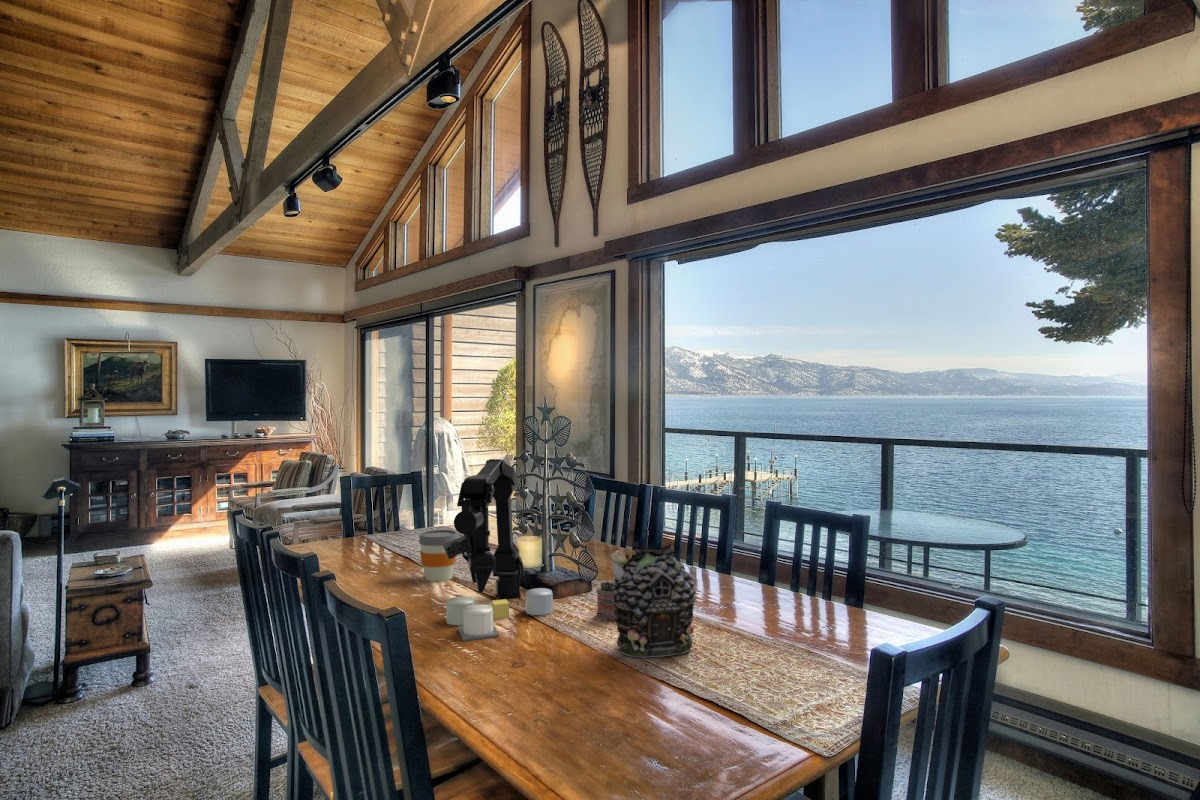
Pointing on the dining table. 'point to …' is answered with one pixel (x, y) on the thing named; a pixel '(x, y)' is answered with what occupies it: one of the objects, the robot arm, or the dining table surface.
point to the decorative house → (652, 603)
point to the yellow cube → (500, 609)
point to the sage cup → (457, 609)
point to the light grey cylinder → (539, 601)
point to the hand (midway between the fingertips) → (477, 587)
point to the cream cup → (478, 620)
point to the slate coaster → (472, 637)
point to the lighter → (605, 600)
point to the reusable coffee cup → (436, 554)
